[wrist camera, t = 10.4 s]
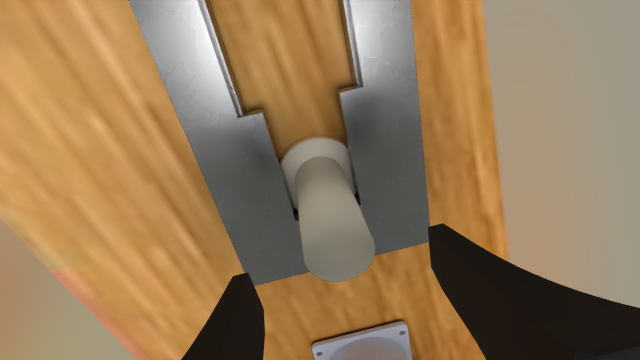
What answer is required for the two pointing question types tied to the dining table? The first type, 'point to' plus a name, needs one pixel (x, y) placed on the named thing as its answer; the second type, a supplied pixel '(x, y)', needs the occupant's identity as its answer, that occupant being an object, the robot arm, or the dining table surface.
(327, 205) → the peg
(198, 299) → the dining table surface
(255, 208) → the keyhole plate
